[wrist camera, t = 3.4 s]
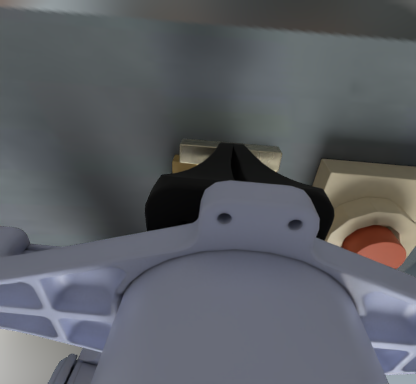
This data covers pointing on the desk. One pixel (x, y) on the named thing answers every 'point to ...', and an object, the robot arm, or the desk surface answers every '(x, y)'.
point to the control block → (369, 198)
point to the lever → (203, 149)
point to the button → (376, 245)
